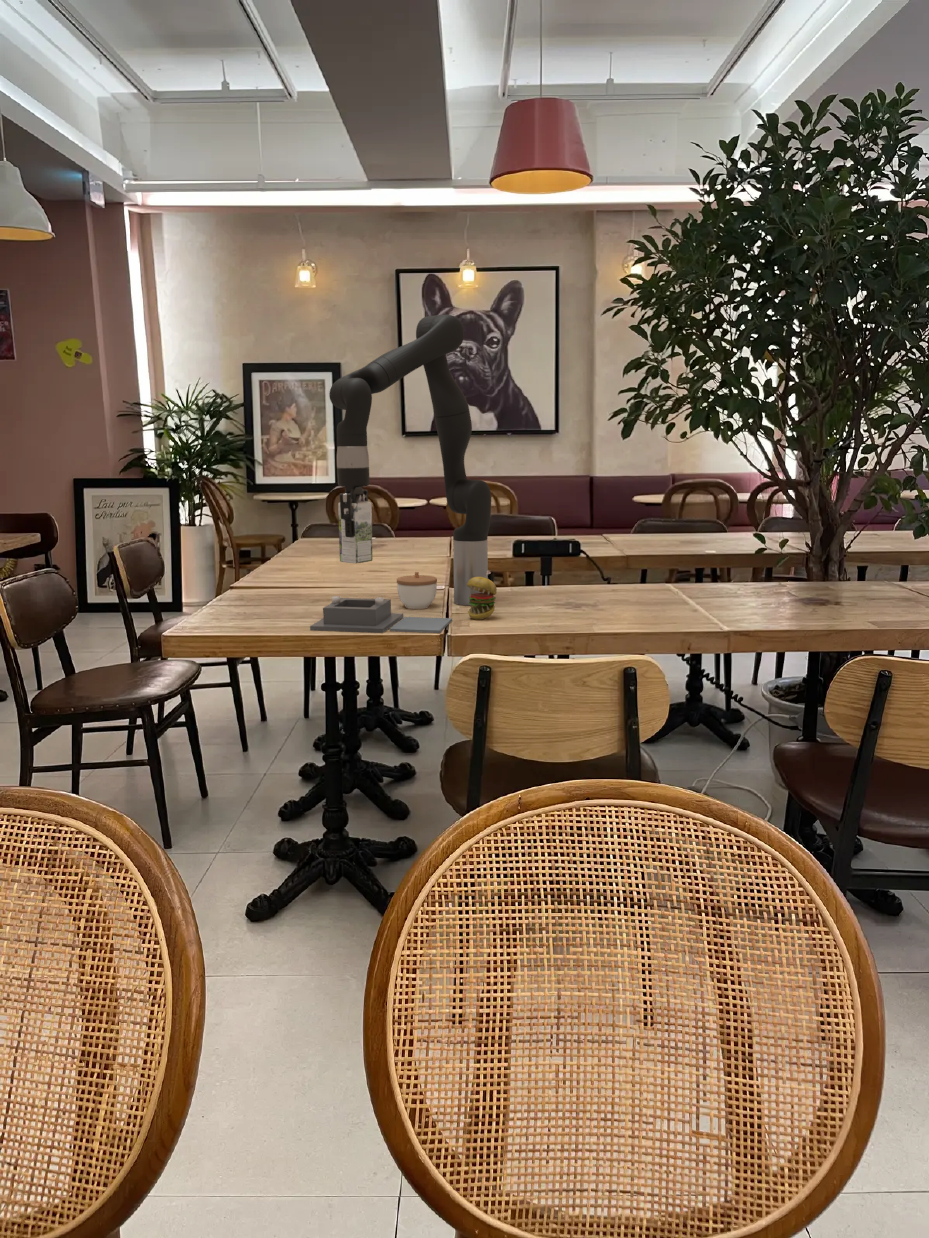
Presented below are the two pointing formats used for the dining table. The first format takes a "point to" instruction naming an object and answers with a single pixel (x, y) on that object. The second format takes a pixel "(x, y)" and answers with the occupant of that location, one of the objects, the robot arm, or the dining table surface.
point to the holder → (357, 615)
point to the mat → (421, 624)
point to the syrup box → (357, 535)
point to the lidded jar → (417, 590)
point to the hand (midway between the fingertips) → (355, 535)
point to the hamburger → (481, 597)
